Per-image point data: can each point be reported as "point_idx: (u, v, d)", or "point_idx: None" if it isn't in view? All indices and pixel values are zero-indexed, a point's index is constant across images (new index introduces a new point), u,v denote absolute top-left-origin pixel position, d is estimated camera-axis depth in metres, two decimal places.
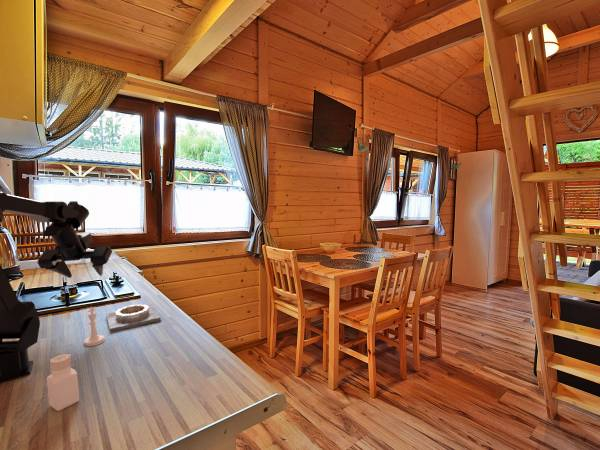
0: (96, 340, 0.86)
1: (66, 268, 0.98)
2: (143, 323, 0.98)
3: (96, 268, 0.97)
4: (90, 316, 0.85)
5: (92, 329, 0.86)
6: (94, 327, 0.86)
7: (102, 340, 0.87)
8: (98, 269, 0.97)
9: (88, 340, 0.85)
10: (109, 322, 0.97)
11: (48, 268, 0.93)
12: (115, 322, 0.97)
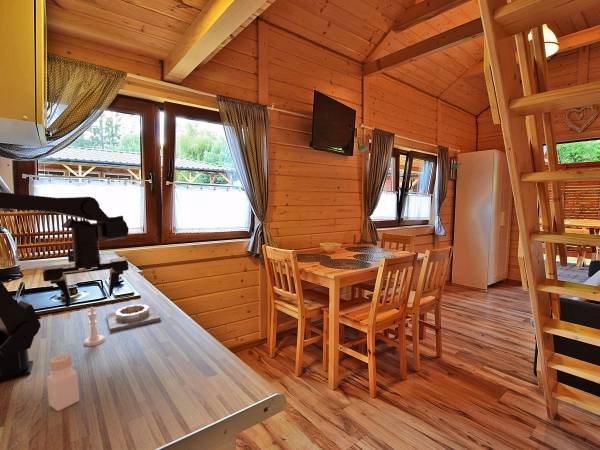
0: (96, 340, 0.86)
1: (68, 289, 0.83)
2: (143, 323, 0.98)
3: (113, 279, 0.86)
4: (90, 316, 0.85)
5: (92, 329, 0.86)
6: (94, 327, 0.86)
7: (102, 340, 0.87)
8: (114, 281, 0.87)
9: (88, 340, 0.85)
10: (109, 322, 0.97)
11: (55, 281, 0.78)
12: (115, 322, 0.97)
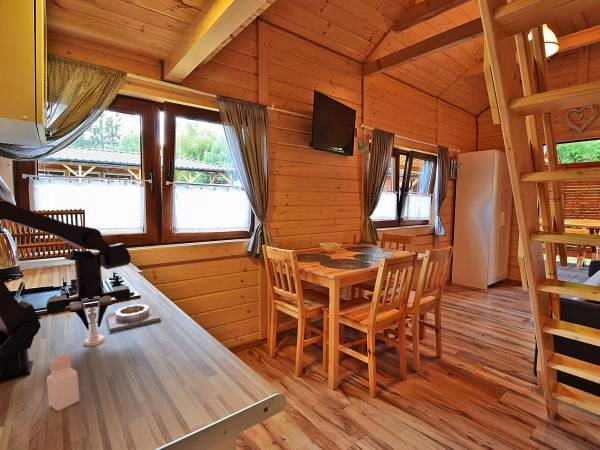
0: (96, 340, 0.86)
1: (86, 316, 0.86)
2: (143, 323, 0.98)
3: (102, 311, 0.85)
4: (90, 316, 0.85)
5: (92, 329, 0.86)
6: (94, 327, 0.86)
7: (102, 340, 0.87)
8: (103, 313, 0.86)
9: (88, 340, 0.85)
10: (109, 322, 0.97)
11: (74, 310, 0.81)
12: (115, 322, 0.97)
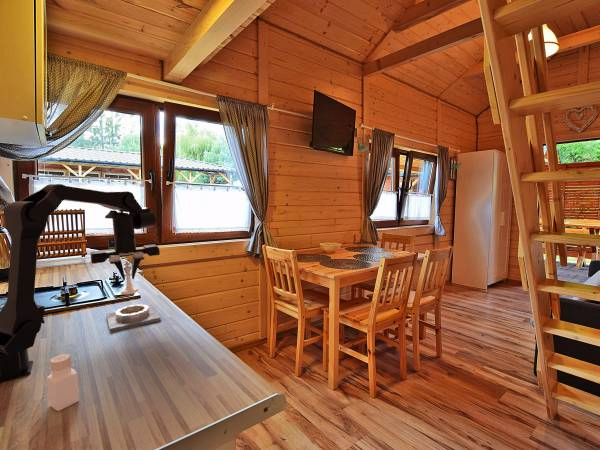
0: (131, 290, 0.99)
1: None
2: (143, 323, 0.98)
3: (136, 264, 0.98)
4: (126, 269, 0.98)
5: (127, 280, 0.99)
6: (129, 279, 0.99)
7: (136, 290, 1.00)
8: (137, 266, 0.99)
9: (124, 290, 0.99)
10: (109, 322, 0.97)
11: (113, 262, 0.94)
12: (115, 322, 0.97)
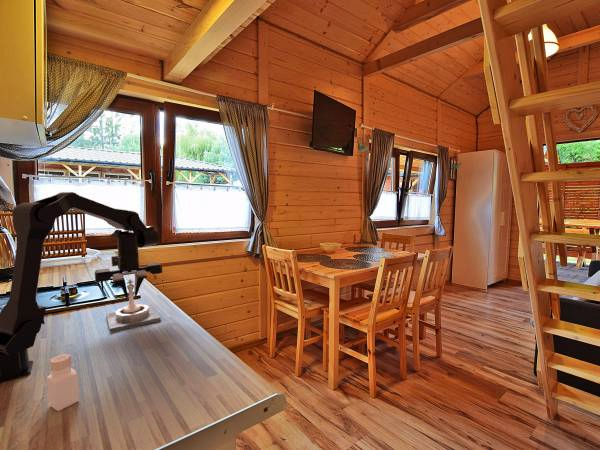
0: (134, 308, 1.00)
1: None
2: (143, 323, 0.98)
3: (139, 282, 1.00)
4: (129, 287, 1.00)
5: (130, 298, 1.01)
6: (132, 297, 1.01)
7: (138, 308, 1.01)
8: (139, 284, 1.00)
9: (127, 307, 1.00)
10: (109, 322, 0.97)
11: (117, 280, 0.96)
12: (115, 322, 0.97)
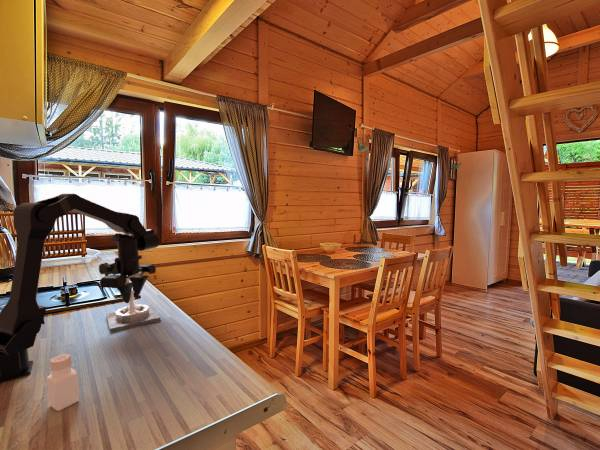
0: None
1: None
2: (143, 323, 0.98)
3: (143, 282, 1.03)
4: (131, 293, 1.00)
5: (132, 304, 1.01)
6: None
7: None
8: (143, 284, 1.04)
9: None
10: (109, 322, 0.97)
11: (128, 284, 0.96)
12: (115, 322, 0.97)
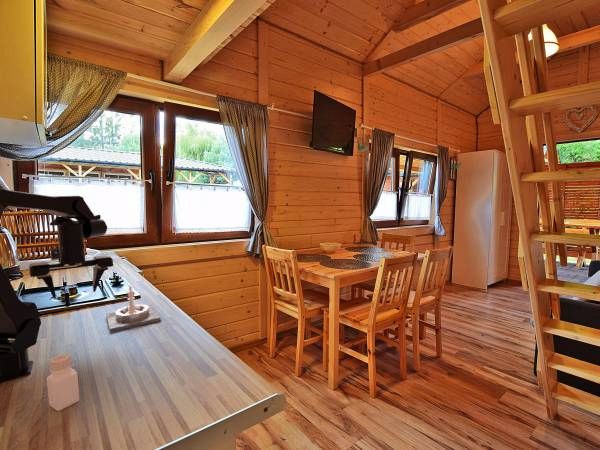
0: None
1: None
2: (143, 323, 0.98)
3: (98, 275, 0.90)
4: (131, 293, 1.00)
5: (132, 304, 1.01)
6: None
7: None
8: (99, 277, 0.91)
9: None
10: (109, 322, 0.97)
11: (41, 277, 0.81)
12: (115, 322, 0.97)
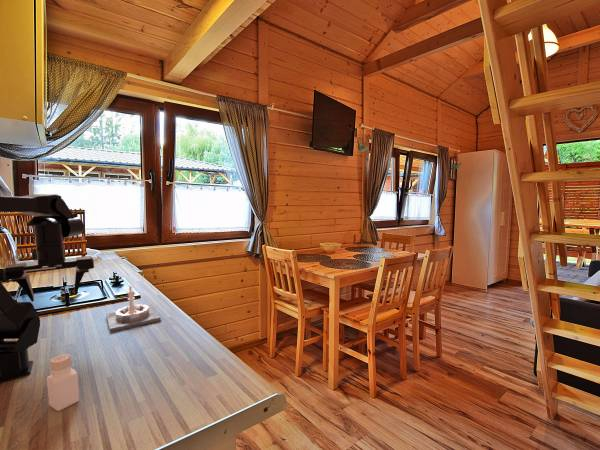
0: None
1: (31, 288, 0.82)
2: (143, 323, 0.98)
3: (78, 277, 0.86)
4: (131, 293, 1.00)
5: (132, 304, 1.01)
6: None
7: None
8: (79, 280, 0.86)
9: None
10: (109, 322, 0.97)
11: (15, 279, 0.78)
12: (115, 322, 0.97)
